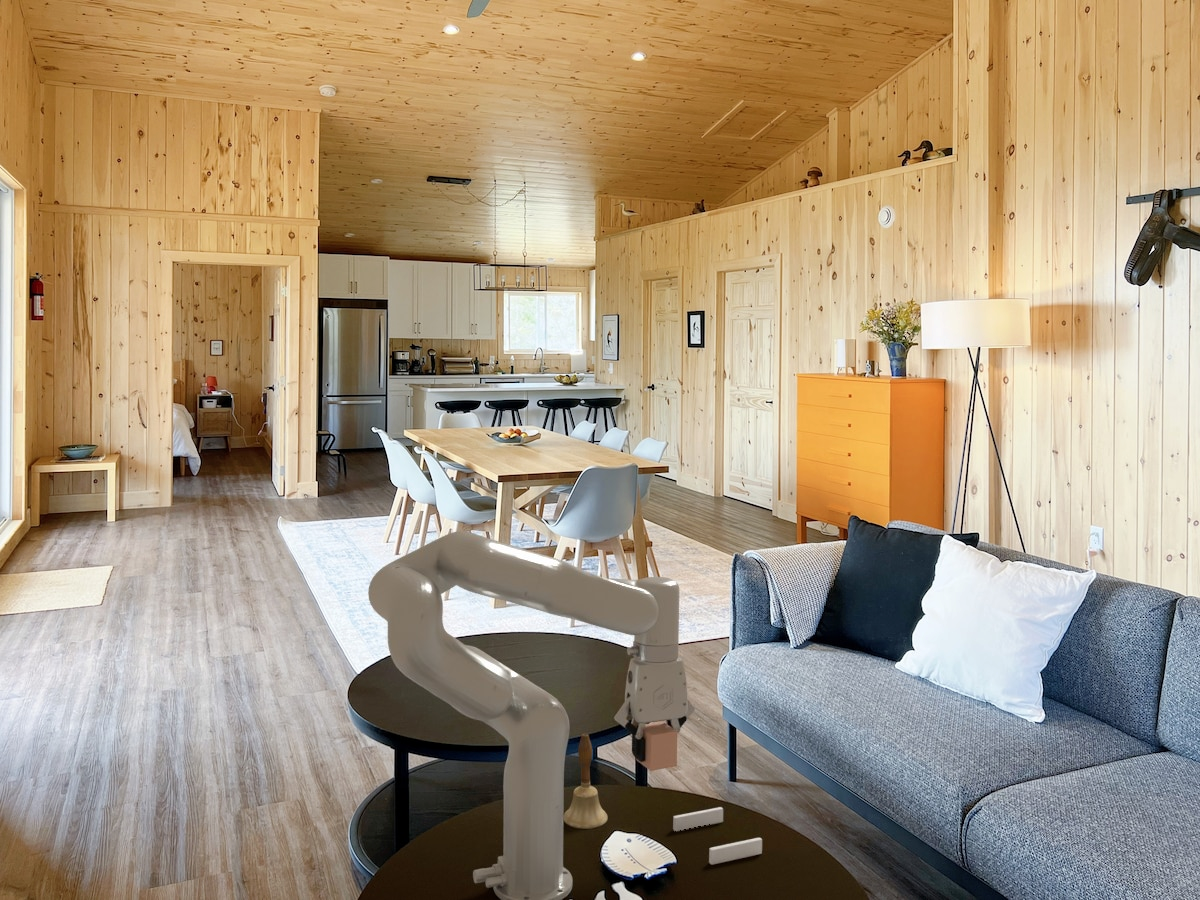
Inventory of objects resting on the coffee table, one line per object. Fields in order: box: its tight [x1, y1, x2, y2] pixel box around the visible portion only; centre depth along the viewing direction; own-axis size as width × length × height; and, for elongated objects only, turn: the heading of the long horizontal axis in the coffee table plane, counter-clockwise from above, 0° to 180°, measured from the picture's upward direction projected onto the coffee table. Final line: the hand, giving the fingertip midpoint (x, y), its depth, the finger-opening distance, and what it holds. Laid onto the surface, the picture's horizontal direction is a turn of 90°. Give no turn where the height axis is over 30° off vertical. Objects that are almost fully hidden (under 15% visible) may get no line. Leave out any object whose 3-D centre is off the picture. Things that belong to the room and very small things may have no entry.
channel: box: [672, 806, 763, 866], centre depth 162 cm, size 10×14×2 cm
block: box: [635, 721, 678, 772], centre depth 155 cm, size 5×5×6 cm
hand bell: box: [563, 733, 609, 830], centre depth 170 cm, size 8×8×16 cm
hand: (654, 755), depth 156 cm, fingers closed on block, 5 cm apart
